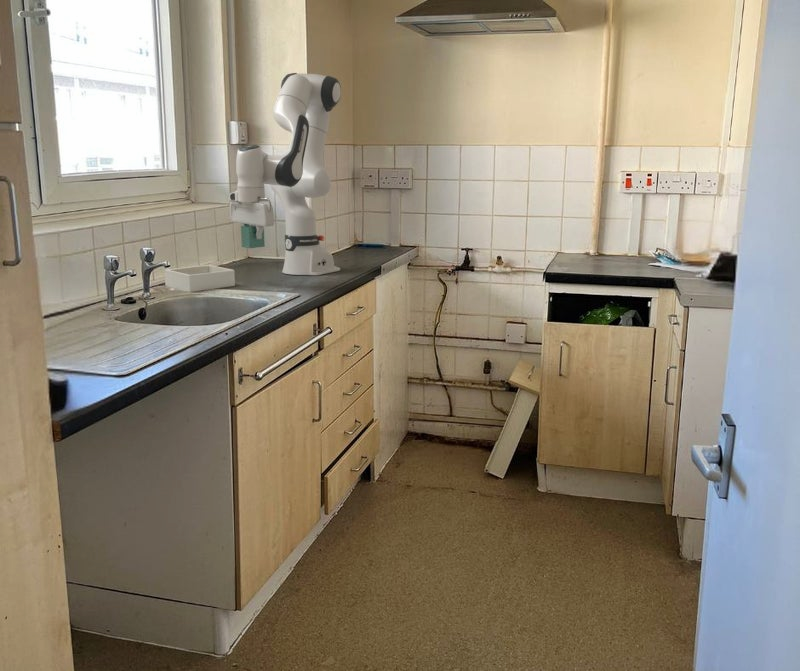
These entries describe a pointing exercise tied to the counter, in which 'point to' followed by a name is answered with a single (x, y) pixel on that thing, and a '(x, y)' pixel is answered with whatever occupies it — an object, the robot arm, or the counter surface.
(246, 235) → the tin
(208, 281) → the tote
